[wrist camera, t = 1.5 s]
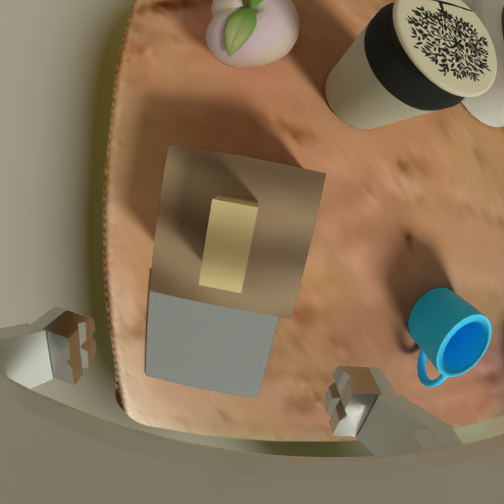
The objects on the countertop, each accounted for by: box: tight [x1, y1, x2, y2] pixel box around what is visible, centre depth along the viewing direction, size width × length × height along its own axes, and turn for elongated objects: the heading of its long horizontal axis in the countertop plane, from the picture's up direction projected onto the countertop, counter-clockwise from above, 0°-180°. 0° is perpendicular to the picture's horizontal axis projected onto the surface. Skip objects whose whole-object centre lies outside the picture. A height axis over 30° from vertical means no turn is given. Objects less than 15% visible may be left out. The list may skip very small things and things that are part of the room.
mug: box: [408, 288, 492, 387], centre depth 32 cm, size 12×8×8 cm
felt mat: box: [146, 280, 279, 398], centre depth 36 cm, size 15×15×1 cm
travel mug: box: [325, 0, 497, 129], centre depth 20 cm, size 8×8×18 cm
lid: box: [150, 145, 326, 319], centre depth 23 cm, size 12×12×5 cm
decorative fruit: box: [205, 0, 299, 69], centre depth 23 cm, size 9×8×10 cm
